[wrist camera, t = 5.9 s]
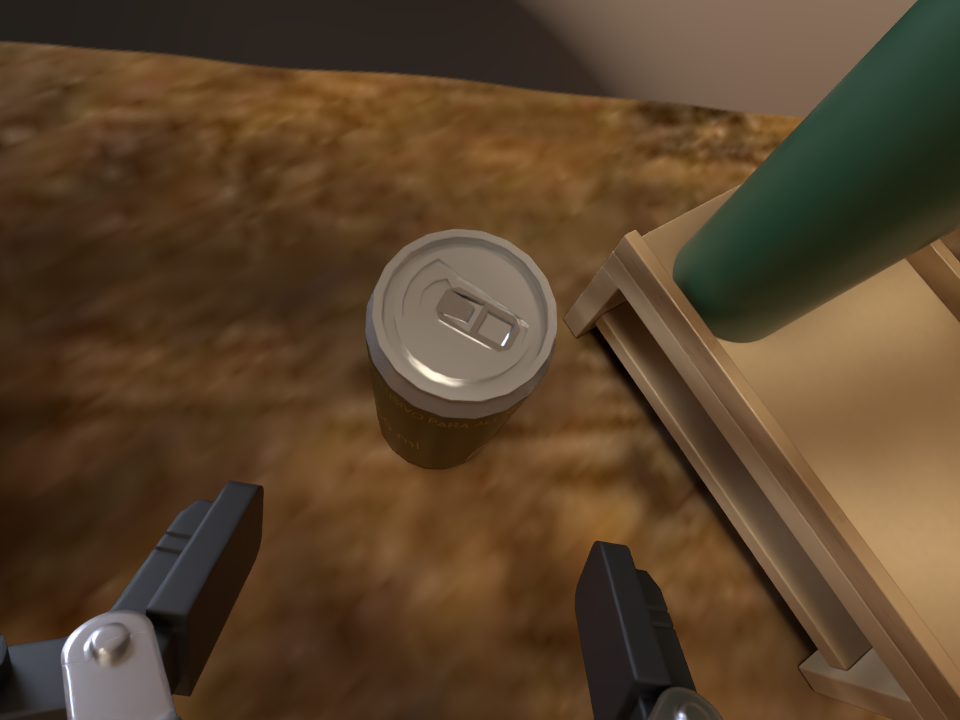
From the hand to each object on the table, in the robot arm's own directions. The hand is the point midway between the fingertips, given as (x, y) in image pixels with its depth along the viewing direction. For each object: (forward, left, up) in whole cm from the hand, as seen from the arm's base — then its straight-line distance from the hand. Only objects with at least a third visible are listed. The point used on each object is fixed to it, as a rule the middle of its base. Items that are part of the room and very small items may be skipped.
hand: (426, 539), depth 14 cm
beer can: (-4, +4, -12) cm, 13 cm away
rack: (+5, +18, -11) cm, 22 cm away
